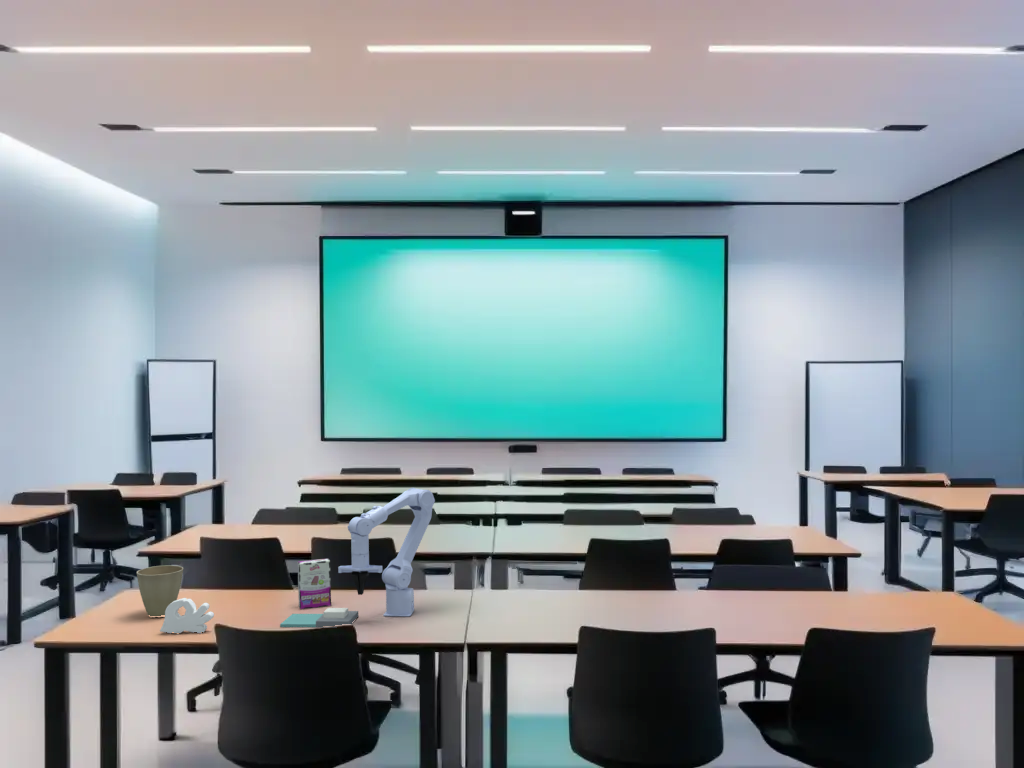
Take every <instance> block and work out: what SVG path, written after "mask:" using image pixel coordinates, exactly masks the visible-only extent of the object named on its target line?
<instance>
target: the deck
mask: <svg viewBox="0 0 1024 768" xmlns="http://www.w3.org/2000/svg"><path fill="white" fill-rule="evenodd" d="M322 614H323V615H322V616H321V617H320V618H319V619H318V620H317V621H316V627H315V628H324V627H323V626H335V625H342V624H352V625H353V623H354V622H355V621H356V620H357V619H358V618H359V610H348V615H347V616H346V617H345V618H324V613H322ZM357 617H358V618H357ZM356 618H357V619H356ZM355 619H356V620H355ZM354 620H355V621H354ZM353 621H354V622H353ZM352 622H353V623H352Z"/></svg>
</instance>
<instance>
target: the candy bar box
mask: <svg viewBox="0 0 1024 768" xmlns="http://www.w3.org/2000/svg"><path fill="white" fill-rule="evenodd" d="M331 584H332V583H331V560H330V559H329V558H320V559H311V560H302V561H300V560H299V561H297V586H298V589H297V590H298V591H297V592H298V607H299V609H300V610H306V609H316V608H323V607H330V606H332V589H331V588H332V587H331V586H332V585H331Z"/></svg>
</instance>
